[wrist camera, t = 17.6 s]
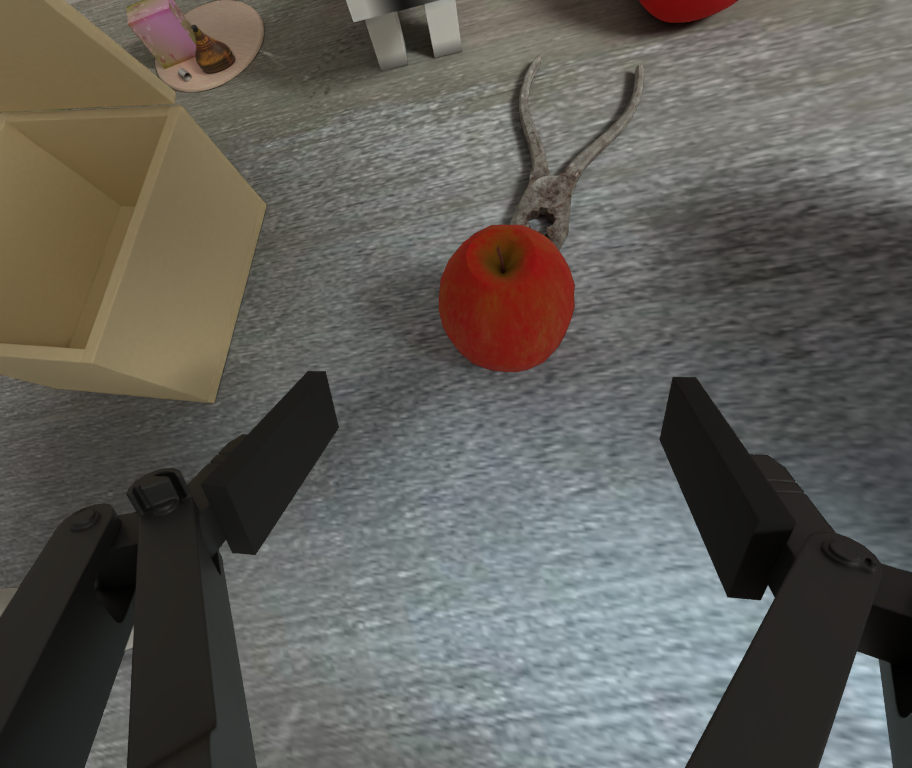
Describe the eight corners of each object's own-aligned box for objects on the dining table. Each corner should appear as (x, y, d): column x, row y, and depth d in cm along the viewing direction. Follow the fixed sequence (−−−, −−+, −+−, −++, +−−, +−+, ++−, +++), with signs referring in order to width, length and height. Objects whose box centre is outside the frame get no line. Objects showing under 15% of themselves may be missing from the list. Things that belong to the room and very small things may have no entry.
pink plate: (160, 108, 42) (119, 64, 38) (151, 27, 46) (113, -22, 42) (272, 65, 42) (243, 14, 37) (254, -14, 45) (226, -69, 41)
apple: (529, 261, 32) (532, 147, 22) (591, 351, 29) (627, 270, 19) (432, 314, 32) (390, 225, 22) (486, 409, 29) (466, 358, 19)
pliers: (644, 45, 34) (647, 268, 29) (641, 56, 35) (643, 274, 30) (522, 54, 36) (504, 266, 31) (522, 64, 37) (505, 272, 32)
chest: (214, 403, 33) (91, 363, 23) (56, 388, 35) (-112, 347, 26) (267, 205, 37) (181, 104, 28) (123, 204, 40) (0, 112, 30)
